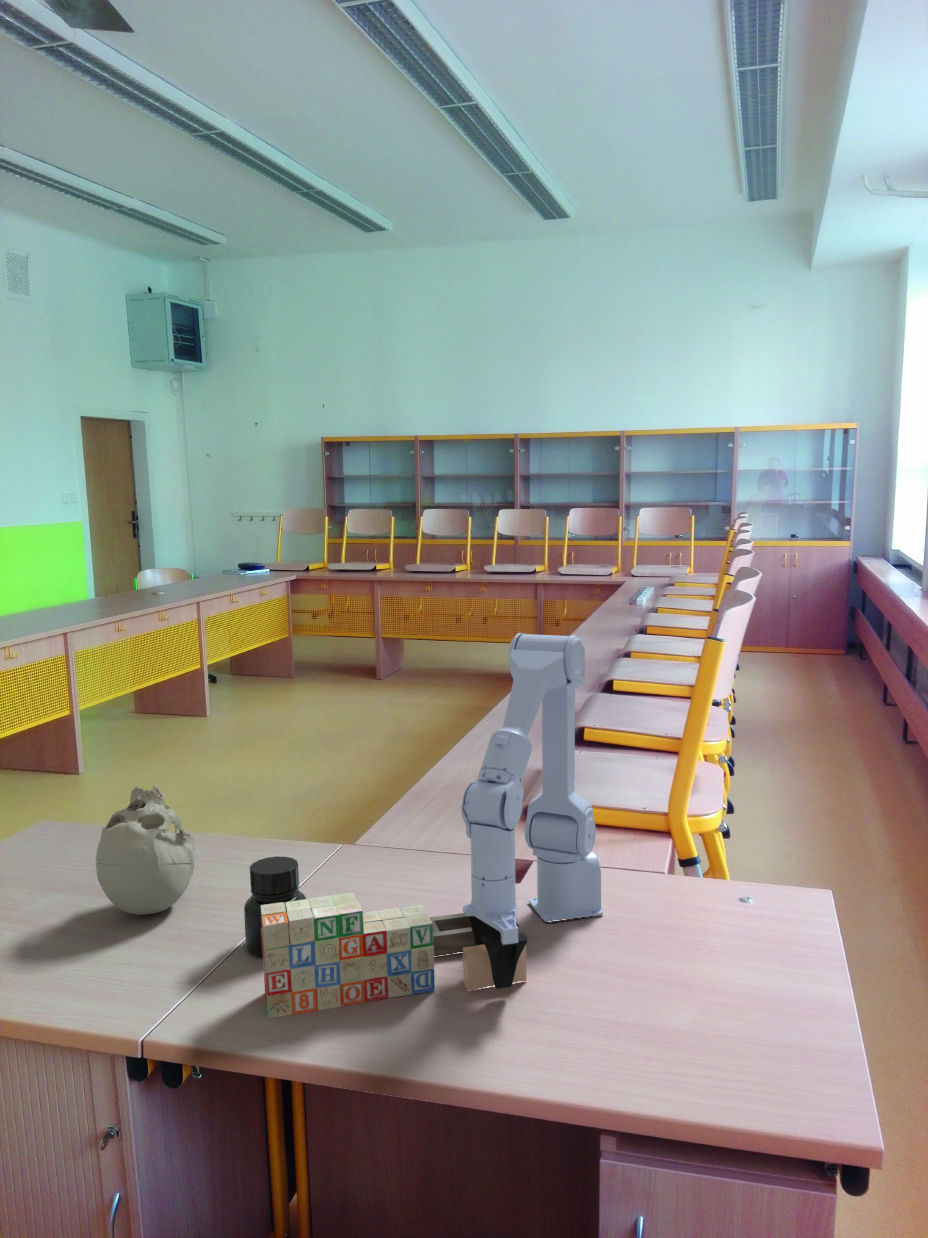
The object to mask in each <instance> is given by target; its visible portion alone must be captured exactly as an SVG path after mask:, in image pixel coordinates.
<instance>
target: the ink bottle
mask: <svg viewBox="0 0 928 1238" xmlns="http://www.w3.org/2000/svg"><path fill="white" fill-rule="evenodd" d="M299 871H300V870H299V861H298V860H296V859H295V858H293V857H289V856H269V857H265V858H261V859H258V860H257V861H254V862H252V863H251V864H250V866H249V879H250V893H251V895H250V897H248V899H246V902H245V903H244V907H243V914H244V918H243V919H244V935H245V936H244V938H245V949H246V950H247V952H248V953H250V954H251V955H253V956H255V957H259V958H263V953H262V940H261V928H262V921H261V905H266V904H274V903H281V902H284V903H285V902H290V901H297V900H304V899H307V897H306V895H305V894H304V893H303V892H302V891H301V890H299V888H300V885H299V884H300V875H299Z"/></svg>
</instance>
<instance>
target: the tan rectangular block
mask: <svg viewBox="0 0 928 1238" xmlns="http://www.w3.org/2000/svg"><path fill="white" fill-rule="evenodd" d="M462 975H463V977H462V979H463V980H462V981H463V985H464V984H465V985H464V987H465V986H466V987H465V989H466V991H467V992H469V991H468V990H474V991H476V990H475V989H478V988H483V987H487V986H493V985H494V981H493V977H492V970H491V964H490V959H489V955H488V952H487V949H486V947H485V945H476V946H469V947H463V954H462ZM517 981H527V945H526V946H525V947H524V949H523V951H522V953H521V955H520V957H519V960H518V963H517V966H516V970H515V975H514V979H513V982H517Z"/></svg>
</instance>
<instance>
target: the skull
mask: <svg viewBox="0 0 928 1238" xmlns="http://www.w3.org/2000/svg"><path fill="white" fill-rule="evenodd" d="M165 798H166V796H165V794H164V793H163V792H162V791H161V790H160V788H158V785H157V784H154V785H153V786H152V789H150V790H149V789H147V790H146V789H143V788H142V787H140V786H138V785H136V786H135V787H134V788H133V789H132V790H131V791H130V798H129V804H128V806H127V807H125V808H121V809H118V810H116V811H115V812H114V813H113V814H112V815H111V817H110V819H109V820H108V822H107V824H106V825H105V826H104V827H102V830H101V834H100V835H101V836H100V838H99V843H98V846H97V849H96V856H95V870H96V877H97V881H98V883H99V885H100V887H101V889H102V891H103V893H104V895H105V896H106V897H107V899H108V900H109V901H110V902H111V903H112V904H113V905H114V906H115V907H116V908H118V909H119V910H121V911H123V912H125V913H128V914H133V915H135V916H142V915H154V914H158V913H161V912H163V911H166V910H167V909H169V908H171V907H172V906H174V905H175V904H176V903H177V902H178V901H179V900H180V899H181V897H182V896H183V895H184V893H185V892H186V890H187V888H188V886H189V884H190V881H191V878H192V874H194V873H193V872H194V869H195V838H194V836H193V833H192V831H191V830H187V831H185V830H184V828H183V826H182V822H181V818H180V816H179V815H178V814H177V812H176V811H175V810H173V809H171V807H170V804H165ZM171 824H173V825H174V826H173V828H175V830H174V832H172V831H169V830H170V827H171Z"/></svg>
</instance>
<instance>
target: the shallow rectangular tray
mask: <svg viewBox="0 0 928 1238" xmlns="http://www.w3.org/2000/svg"><path fill="white" fill-rule="evenodd" d="M429 918H430V920H431V921H432V923H433V946H434V956H439V955H446V954H453V953H457V952H463V947H469V946H475V941H474V936H473V932H472V929H471V925H470V923H469V920H468V918H467V916H466V915H465V914H464V912H460V913H453V914H445V915H439V916H438V915H437V916H429ZM516 925H517V927H518V928H519V924H518V922H517V921H516Z"/></svg>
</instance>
